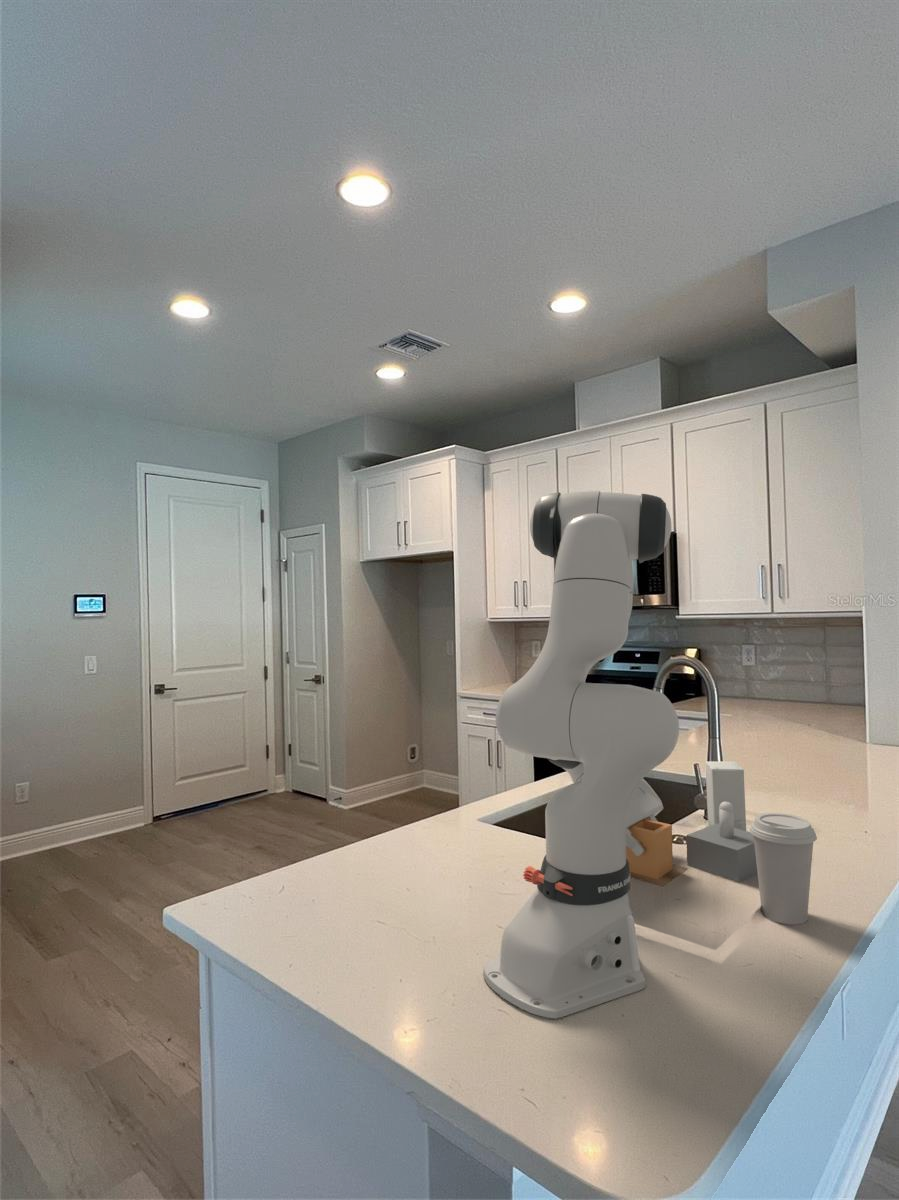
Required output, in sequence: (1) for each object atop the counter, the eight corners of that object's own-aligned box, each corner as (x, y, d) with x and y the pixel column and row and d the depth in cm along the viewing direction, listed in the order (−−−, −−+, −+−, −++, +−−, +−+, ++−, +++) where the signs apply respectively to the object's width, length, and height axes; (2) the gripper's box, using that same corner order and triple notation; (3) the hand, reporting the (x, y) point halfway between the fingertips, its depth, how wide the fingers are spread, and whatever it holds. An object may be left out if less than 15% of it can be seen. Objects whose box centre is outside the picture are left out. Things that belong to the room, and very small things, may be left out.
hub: (738, 890, 119) (736, 814, 119) (687, 873, 127) (685, 801, 127) (768, 875, 125) (767, 802, 125) (718, 859, 133) (716, 790, 133)
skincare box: (747, 848, 139) (745, 770, 139) (712, 846, 140) (711, 769, 140) (738, 833, 147) (737, 760, 147) (705, 832, 149) (704, 759, 149)
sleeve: (657, 879, 121) (656, 833, 121) (626, 870, 125) (625, 826, 125) (672, 869, 126) (671, 824, 125) (642, 860, 130) (641, 818, 130)
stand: (663, 894, 118) (662, 843, 118) (610, 879, 125) (609, 831, 125) (688, 876, 126) (687, 828, 126) (637, 863, 132) (636, 817, 132)
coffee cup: (737, 908, 113) (736, 815, 113) (783, 898, 116) (781, 808, 116) (785, 934, 104) (783, 834, 104) (832, 922, 107) (831, 825, 107)
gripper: (583, 785, 122) (635, 854, 116) (639, 763, 137) (688, 823, 131) (562, 806, 125) (612, 874, 119) (619, 782, 140) (666, 841, 134)
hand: (652, 847), depth 125 cm, fingers closed on sleeve, 6 cm apart
